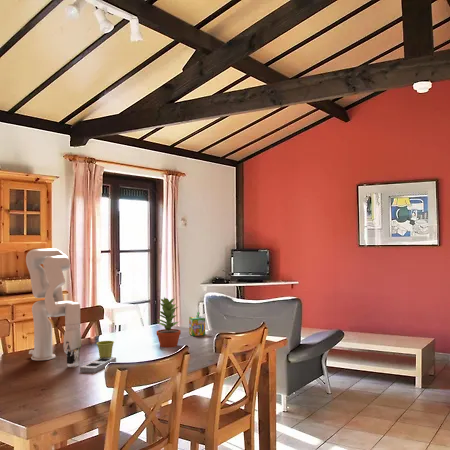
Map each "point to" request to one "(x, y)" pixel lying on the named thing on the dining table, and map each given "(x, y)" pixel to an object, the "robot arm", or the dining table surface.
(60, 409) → the dining table surface
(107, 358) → the grey slotted tray
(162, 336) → the potted plant
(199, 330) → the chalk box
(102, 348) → the plant pot
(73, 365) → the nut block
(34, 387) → the dining table surface
